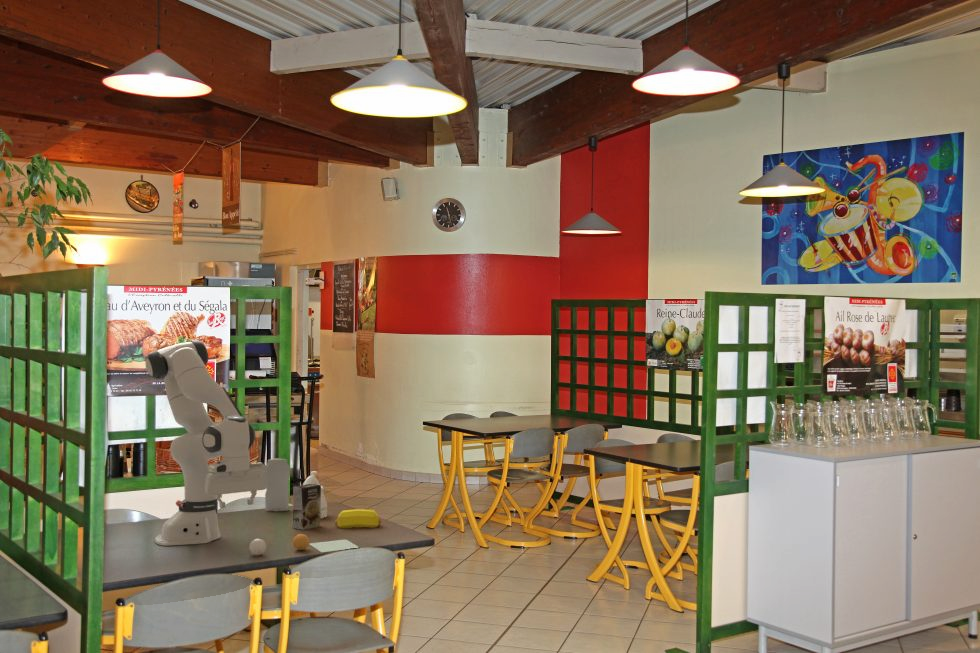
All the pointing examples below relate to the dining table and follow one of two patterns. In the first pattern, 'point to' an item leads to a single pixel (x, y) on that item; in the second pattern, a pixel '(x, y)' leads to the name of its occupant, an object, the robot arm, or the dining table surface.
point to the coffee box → (306, 506)
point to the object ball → (300, 542)
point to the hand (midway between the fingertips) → (236, 505)
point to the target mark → (333, 545)
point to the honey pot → (313, 480)
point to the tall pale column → (277, 485)
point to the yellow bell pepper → (357, 518)
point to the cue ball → (257, 547)
